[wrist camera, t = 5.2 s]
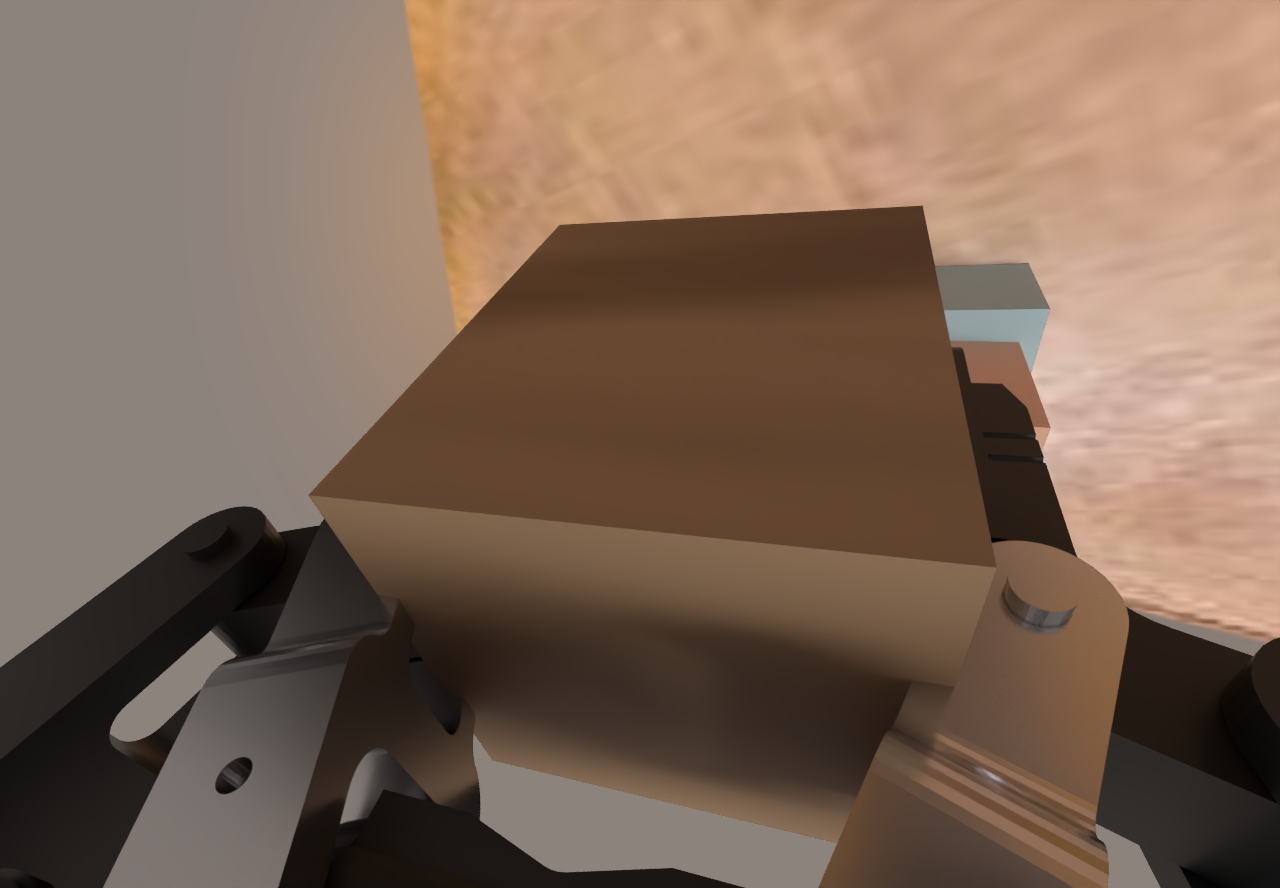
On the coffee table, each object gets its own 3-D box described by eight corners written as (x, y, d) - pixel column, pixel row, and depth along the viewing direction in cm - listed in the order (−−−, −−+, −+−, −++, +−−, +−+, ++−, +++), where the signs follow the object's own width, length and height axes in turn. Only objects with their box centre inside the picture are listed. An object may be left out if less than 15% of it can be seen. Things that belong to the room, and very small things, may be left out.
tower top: (845, 338, 24) (842, 416, 20) (1019, 342, 22) (1050, 428, 18) (833, 454, 27) (829, 536, 24) (981, 465, 26) (1001, 556, 22)
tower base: (815, 267, 26) (810, 312, 23) (1026, 260, 24) (1050, 308, 21) (811, 414, 31) (806, 466, 28) (985, 420, 29) (999, 477, 26)
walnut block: (559, 224, 9) (308, 495, 5) (922, 206, 8) (996, 567, 4) (616, 469, 13) (492, 760, 8) (881, 489, 11) (894, 855, 7)
